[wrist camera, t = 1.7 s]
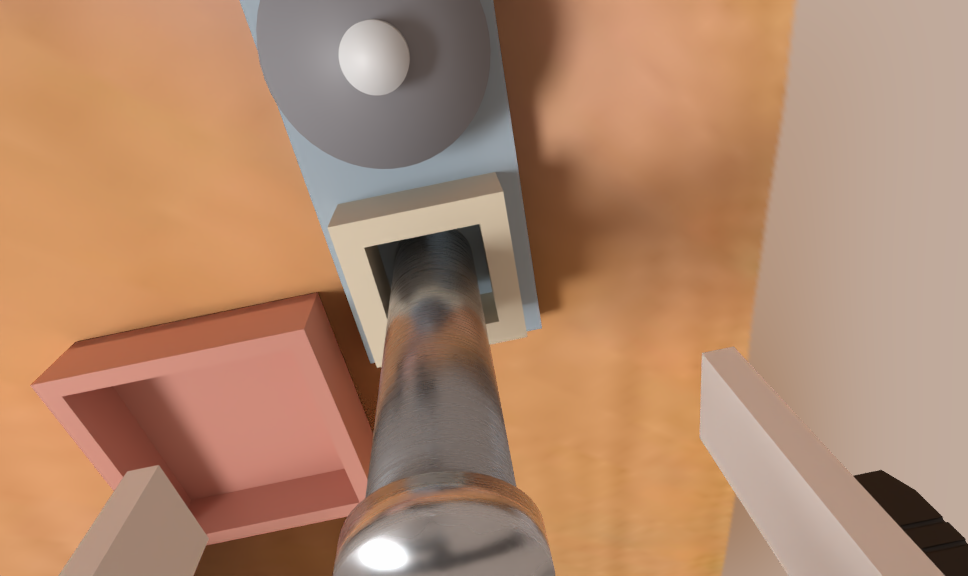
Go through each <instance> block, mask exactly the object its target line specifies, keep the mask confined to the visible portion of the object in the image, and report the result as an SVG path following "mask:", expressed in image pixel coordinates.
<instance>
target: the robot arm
mask: <svg viewBox="0 0 968 576" xmlns="http://www.w3.org/2000/svg"><path fill="white" fill-rule="evenodd" d="M700 439H701V440H702V442H703V444H704V445H705V447H706V448H707V450H708V451H709V453H710V454H711V456H712V458H713V459H714V461H715V462H716V464H717V465H718V467H719V468H720V470H721V472H722V473H723V475H724V476H725V478H726V479H727V481H728V482H729V484H730V486H731V487H732V489H733V490H734V492H735V493H736V495H737V496H738V498H739V500H740V501H741V503H742V504H743V506H744V507H745V509H746V510H747V512H748V514H749V515H750V517H751V518H752V520H753V521H754V523H755V524H756V526H757V527H758V529H759V530H760V532H761V534H762V535H763V537H764V538H765V540H766V542H767V543H768V545H769V546H770V548H771V549H772V551H773V552H774V554H775V555H776V557H777V559H778V560H779V562H780V563H781V565H782V566H783V568H784V569H785V571H786V573H787V574H788V576H968V544H967V543H966V541H965V538H964V537H963V536H962V535H961V534H960V533H959V532H958V531H957V530H956V529H954V527H953V526H952V525H951V524H950V523H948V522H945V521H944V520H943V518H942V516H941V515H940V514H939V513H938V512H937V511H936V510H935V509H934V508H933V507H932V506H931V505H930V504H929V503H928V502H927V501H926V500H925V499H924V498H923V497H922V496H921V495H920V494H919V493H918V492H917V491H916V490H914V489H912V488H911V487H909V486H907V485H906V484H904V483H902V482H901V481H899V480H897V479H896V478H894V477H892V476H891V475H889V474H887V473H886V472H884V471H882V470H879V471H875V472H869V473H865V474H860V475H855V476H853V475H852V474H851V473H850V472H849V471H848V470H847V469H846V468H845V467H844V466H843V465H842V464H841V462H840V461H839V460H838V459H837V458H836V457H835V456H834V455H833V454H832V453H831V452H830V451H829V450H828V448H827V447H826V446H825V445H824V444H823V443H822V442H821V441H820V440H819V439H818V438H817V436H816V435H815V434H814V433H813V432H812V431H811V430H810V429H809V428H808V427H807V426H806V425H805V423H804V422H803V421H802V420H801V419H800V418H799V417H798V416H797V415H796V414H795V413H794V411H793V410H792V409H791V408H790V407H789V406H788V405H787V404H786V403H785V402H784V401H783V400H782V398H781V397H780V396H779V395H778V394H777V393H776V392H775V391H774V390H773V389H772V388H771V386H770V385H769V384H768V383H767V382H766V381H765V380H764V379H763V378H762V377H761V376H760V375H759V373H758V372H757V371H756V370H755V369H754V368H753V367H752V366H751V365H750V364H749V363H748V362H747V360H746V359H745V358H744V357H743V356H742V355H741V354H740V353H739V352H738V351H737V350H736V349H735V347H730V348H725V349H720V350H715V351H710V352H705V353H702V374H701V409H700ZM208 540H209V538H208V536H207V535H206V533H205V532H204V531H203V529H202V528H201V526H200V525H199V523H198V522H197V520H196V519H195V517H194V516H193V514H192V513H191V511H190V510H189V508H188V507H187V506H186V504H185V503H184V501H183V500H182V498H181V497H180V495H179V494H178V492H177V491H176V489H175V488H174V486H173V485H172V483H171V482H170V481H169V479H168V478H167V476H166V475H165V473H164V472H163V470H162V469H161V467H160V466H159V465H156V466H151V467H146V468H141V469H136V470H132V471H127V472H126V474H125V475H124V477H123V478H122V480H121V482H120V483H119V485H118V486H117V488H116V489H115V491H114V492H113V494H112V495H111V497H110V498H109V500H108V501H107V503H106V504H105V506H104V507H103V509H102V510H101V512H100V513H99V515H98V516H97V518H96V520H95V521H94V523H93V524H92V526H91V527H90V529H89V530H88V532H87V533H86V535H85V536H84V538H83V539H82V541H81V542H80V544H79V545H78V547H77V548H76V550H75V551H74V553H73V554H72V556H71V557H70V559H69V561H68V562H67V564H66V565H65V567H64V568H63V570H62V571H61V573H60V574H59V576H193V575H194V573H195V571H196V568H197V566H198V563H199V561H200V559H201V556H202V554H203V552H204V549H205V547H206V544H207V542H208Z"/></svg>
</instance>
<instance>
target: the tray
mask: <svg viewBox="0 0 968 576" xmlns="http://www.w3.org/2000/svg"><path fill="white" fill-rule="evenodd" d="M30 386H31V387H32V388H33V390H34V391H35V392H36V393H37V395H38V396H39V397H40V398H41V400H42V401H43V402H44V403H45V405H46V406H47V407H48V408H49V410H50V411H51V412H52V414H53V415H54V416H55V417H56V419H57V420H58V421H59V422H60V424H61V425H62V426H63V427H64V429H65V430H66V431H67V433H68V434H69V435H70V436H71V438H72V439H73V440H74V441H75V443H76V444H77V445H78V446H79V448H80V449H81V450H82V452H83V453H84V454H85V455H86V457H87V458H88V459H89V460H90V462H91V463H92V464H93V465H94V467H95V468H96V469H97V471H98V472H99V473H100V474H101V476H102V477H103V478H104V479H105V481H106V482H107V483H108V484H109V486H110V487H111V488H112V490H113V491H115V489H116V488H117V486H118V485H119V483H120V482H121V480H122V478H123V477H124V475H125V474H126V472H127V471H132V470H136V469H141V468H146V467H151V466H156V465H159V466H160V467H161V469H162V470H163V472H164V473H165V475H166V476H167V478H168V479H169V481H170V482H171V483H172V485H173V486H174V488H175V489H176V491H177V492H178V494H179V495H180V497H181V498H182V500H183V501H184V503H185V504H186V506H187V507H188V508H189V510H190V511H191V513H192V514H193V516H194V517H195V519H196V520H197V522H198V523H199V525H200V526H201V528H202V529H203V531H204V532H205V533H206V535H207V536H208V538H209V540H208V542H207V544H206V545H211V544H216V543H221V542H226V541H231V540H235V539H240V538H245V537H250V536H255V535H260V534H265V533H270V532H274V531H279V530H284V529H289V528H294V527H299V526H304V525H308V524H313V523H318V522H323V521H328V520H333V519H338V518H343V517H347V516H348V515H349V514H350V512H351V511H352V510H353V509H354V508H355V507H356V506H357V505H358V504H359V503H360V502H361V501H362V500H363V499H365V497H366V489H367V481H368V473H369V465H370V457H371V449H372V440H373V433H372V430H371V427H370V425H369V422H368V420H367V417H366V415H365V412H364V409H363V407H362V404H361V402H360V399H359V397H358V394H357V392H356V389H355V386H354V384H353V381H352V379H351V376H350V374H349V371H348V369H347V366H346V363H345V361H344V358H343V356H342V353H341V351H340V348H339V345H338V343H337V340H336V338H335V335H334V333H333V330H332V328H331V325H330V322H329V320H328V317H327V315H326V312H325V310H324V307H323V304H322V302H321V299H320V297H319V294H318V292H316V293H312V294H307V295H302V296H297V297H292V298H287V299H282V300H278V301H273V302H268V303H263V304H258V305H253V306H248V307H243V308H239V309H234V310H229V311H224V312H219V313H214V314H209V315H205V316H200V317H195V318H190V319H185V320H180V321H175V322H171V323H166V324H161V325H156V326H151V327H146V328H141V329H136V330H132V331H127V332H122V333H117V334H112V335H107V336H102V337H98V338H93V339H88V340H83V341H78V342H75V343H74V344H73V345H72V346H71V347H70V348H69V349H68V350H67V351H66V352H64V353H63V354H62V355H61V356H60V357H59V358H58V359H57V360H56V361H55V362H54V363H53V364H52V365H51V366H50V367H49V368H48V369H47V370H46V371H45V372H44V373H43V374H42V375H41V376H39V377H38V378H37V379H36V380H35V381H34V382H33V383H32V384H31V385H30Z"/></svg>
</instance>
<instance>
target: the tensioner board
mask: <svg viewBox="0 0 968 576" xmlns="http://www.w3.org/2000/svg"><path fill="white" fill-rule="evenodd" d="M240 3H241V6H242V8H243V11H244V14H245V17H246V20H247V22H248V25H249V28H250V31H251V33H252V36H253V39H254V42H255V45H256V47H257V50H258V54H259V60H260V65H261V68H262V71H263V75H264V78H265V81H266V83H267V85H268V88H269V90H270V92H271V95H272V96H273V98H274V100H275V102H276V103H277V106H278V108H279V111H280V114H281V117H282V119H283V122H284V125H285V128H286V131H287V133H288V136H289V139H290V142H291V144H292V147H293V150H294V153H295V155H296V158H297V161H298V164H299V167H300V169H301V172H302V175H303V178H304V180H305V183H306V186H307V189H308V192H309V194H310V197H311V200H312V203H313V205H314V208H315V211H316V214H317V216H318V219H319V222H320V225H321V228H322V230H323V233H324V236H325V239H326V241H327V244H328V247H329V250H330V253H331V255H332V258H333V261H334V264H335V266H336V269H337V272H338V275H339V278H340V280H341V283H342V286H343V289H344V291H345V294H346V297H347V300H348V302H349V305H350V308H351V311H352V314H353V316H354V319H355V322H356V325H357V327H358V330H359V333H360V336H361V339H362V341H363V344H364V347H365V350H366V352H367V355H368V358H369V361H370V364H371V363H375V364H376V366H377V368H378V367H382V359H383V351H384V343H385V335H386V327H387V319H388V310H389V302H390V294H391V286H392V278H393V270H394V262H395V254H396V249H397V246H398V244H399V242H400V240H404V239H409V238H413V237H418V236H423V235H428V234H433V233H438V232H443V231H447V230H452V229H457V230H458V231H460V232H461V233H462V234H463V235H464V236H465V238H466V239H467V240H468V242H469V244H470V246H471V249H472V254H473V259H474V264H475V270H476V275H477V280H478V286H479V291H480V296H481V302H482V307H483V312H484V318H485V323H486V328H487V334H488V339H489V344H495V343H500V342H505V341H510V340H515V339H519V338H524V337H527V331H531V330H536V329H541V328H542V326H541V319H540V312H539V305H538V299H537V292H536V285H535V278H534V272H533V265H532V258H531V251H530V245H529V238H528V231H527V224H526V218H525V211H524V204H523V198H522V191H521V184H520V177H519V171H518V164H517V157H516V150H515V144H514V137H513V130H512V123H511V117H510V110H509V103H508V97H507V90H506V83H505V76H504V70H503V63H502V56H501V49H500V43H499V36H498V29H497V22H496V16H495V9H494V2H493V0H240Z"/></svg>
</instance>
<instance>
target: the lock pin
mask: <svg viewBox="0 0 968 576" xmlns="http://www.w3.org/2000/svg"><path fill="white" fill-rule="evenodd" d="M333 576H555V570H554V565H553V561H552V557H551V552H550V548H549V543H548V539H547V535H546V530H545V526H544V522H543V519H542V515H541V513H540V511H539V509H538V507H537V506H536V505H535V503H534V502H533V501H532V500H531V499H530V498H529V497H528V496H527V495H526V494H525V493H524V492H523V491H521V490H520V489H518V488H517V487H516V483H515V478H514V472H513V467H512V462H511V456H510V451H509V446H508V440H507V435H506V430H505V424H504V419H503V414H502V408H501V403H500V398H499V392H498V387H497V382H496V376H495V371H494V366H493V360H492V355H491V350H490V344H489V339H488V334H487V328H486V323H485V318H484V312H483V307H482V302H481V296H480V291H479V286H478V280H477V275H476V270H475V264H474V259H473V254H472V249H471V246H470V244H469V242H468V240H467V239H466V238H465V236H464V235H463V234H462V233H461V232H460V231H458V230H457V229H452V230H447V231H443V232H438V233H433V234H428V235H423V236H418V237H413V238H409V239H404V240H400V242H399V244H398V246H397V249H396V254H395V262H394V270H393V278H392V286H391V294H390V302H389V310H388V319H387V327H386V335H385V343H384V351H383V359H382V367H381V375H380V384H379V392H378V400H377V408H376V416H375V424H374V432H373V440H372V449H371V457H370V465H369V473H368V481H367V489H366V497H365V499H363V500H362V501H361V502H360V503H359V504H358V505H357V506H356V507H355V508H354V509H353V510H352V511H351V512H350V514H349V515H348V517H347V518H346V520H345V521H344V524H343V526H342V528H341V531H340V535H339V540H338V546H337V552H336V558H335V564H334V570H333Z"/></svg>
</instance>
